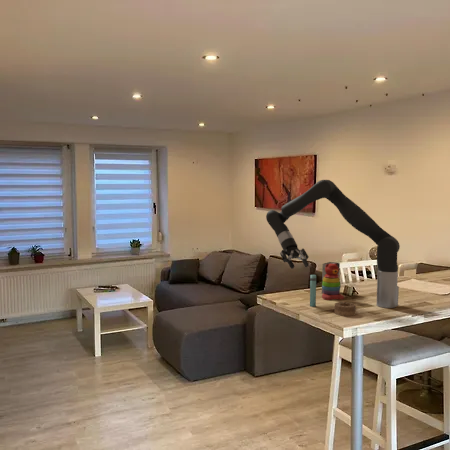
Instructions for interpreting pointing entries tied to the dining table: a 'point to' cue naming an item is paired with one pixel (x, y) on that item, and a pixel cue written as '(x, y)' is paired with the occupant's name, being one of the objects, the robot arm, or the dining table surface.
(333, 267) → the stacking bear
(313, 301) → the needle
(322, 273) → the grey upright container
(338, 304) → the brown thick ring
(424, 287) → the dining table surface
